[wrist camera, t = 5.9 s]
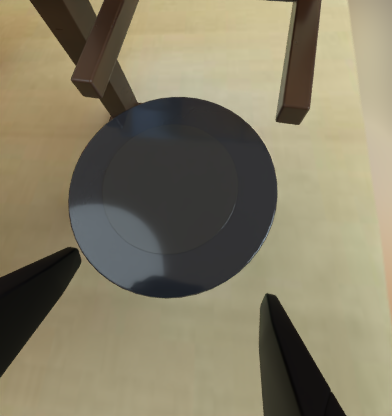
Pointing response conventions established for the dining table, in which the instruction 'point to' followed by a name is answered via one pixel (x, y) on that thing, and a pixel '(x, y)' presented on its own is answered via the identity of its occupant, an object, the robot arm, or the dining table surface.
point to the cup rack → (117, 29)
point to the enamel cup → (172, 197)
